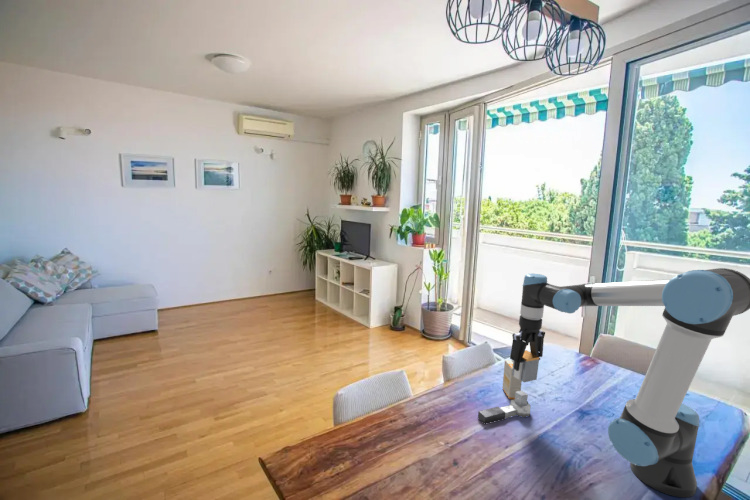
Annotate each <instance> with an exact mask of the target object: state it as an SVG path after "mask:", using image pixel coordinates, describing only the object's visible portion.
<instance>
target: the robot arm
mask: <svg viewBox="0 0 750 500" xmlns="http://www.w3.org/2000/svg"><path fill="white" fill-rule="evenodd" d="M545 306H546V307H547V308H551V309H554V310H556V311H558V312H561V313H566V314H574V313H575V312H576V311H578V310H579V309H580V308H581V307H664V309H663V312H662V313H661V314H662V317H663V319H664V321H665V322H666V324H665V325H666V326H665V327H664V329H663V333H662V334H661V336H660V338H659V342H658V344H657V347H656V350H655V352H654V353H653V356H652V359H651V361H650V364H649V365H648V369H647V371H646V373H645V376H644V378H643V381H642V382H641V386H640V387H639V389H638V393H637V395H636V397H635V399H634V398H633V399H628V400H627V401H626V403H625V406H624V408H623V410H622V413H621V415H620V416H619V417H618V418H615V419H613V420H612V421H610V423H609V425H608V427H607V434H608V439H609V441H610V442H611V443H612V446H613V448H614V449H615V451H616V452H617V453H618V454H619V455H620V456H621V457H622V458H623V459H625V461H627V462H629V463H630V469H631V471H632V473H633V474H634V475H635V476H636V478H638V479H639V480H640V481H641V482H643V483H644V484H646V485H647V486H648V487H651V488H652V489H654V490H657V491H659V492H661V493H662V494H663V493H664V494H666V495H669V496H671V497H677V498H690V497H693V496H695V494H696V492H697V486H698V484H697V483H698V482H697V478H696V473H695V469H694V465H693V459H694V453H695V447H696V441H697V437H698V432H699V427H700V415H699V413H698V412H697V411H695V410H694V408H692V407H691V406H688V405H686V404H684V403H683V401H684V400H685V397H686V396H687V394H688V391H689V389H690V386H691V384H692V382H693V380H694V378H695V376H696V373H697V372H698V369H699V367H700V366H701V363H702V360H703V358H704V356H705V355H706V352H707V350H708V348H709V346H710V343H711V342H712V340H713V339H716V338H722V337H724V335H725V333H726V331H727V329H728V327H729V325H730V322H731V320H732V318H733V317H734V316H737V315H741V314H744V313H745V312H747V311H749V310H750V277H748V276H747V275H746V274H744V273H742V272H740V271H738V270H736V269H731V268H725V267H724V268H723V267H720V268H719V267H718V268H712V269H695V270H694V269H693V270H688V271H684V272H682V273H679V274H677V275H675V276H673V277H672V278H665V279H664V278H663V279H650V280H649V279H648V280H647V279H646V280H633V281H629V280H628V281H617V282H600V283H599V282H597V283H581V284H574V285H564V286H557V285H554V284H551V283H549V282H548V276H546V275H544V274H540V273H526V274H525V275H524V278H523V282H522V295H521V303H520V312H519V314H520V316H519V320H518V325H519V330H518V332H517V333H512V342H511V350H510V356H509V360H513V361H514V369H515V370H514V377H515V378H517V379H519V380H521V373H522V364H523V363H522V362H521V360H522V357H523V355H524V352H525V350H526V348H527V347H528V346H529V351H530V352H531V353H533V354H534V355H536V356H538V357H539V361H540V360H541V358H542V357H543V353H544V341H545V340H544V339H545V337H546V332H545V331H544V330H542V325H543V317H544V309H545Z"/></svg>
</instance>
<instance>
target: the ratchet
mask: <svg viewBox="0 0 750 500" xmlns="http://www.w3.org/2000/svg"><path fill="white" fill-rule="evenodd" d="M477 414H478V415H477V419H478V418H479V419H480V420H481V421H482V422H483V423H482V422H481V421H480V420H479V419H478V420H479V421H480V422H481V423H482V424H484V423H485V424H484V425H487V424H486V423H489V424H491V423H490V422H493V423H495V422H494V421H497V422H499V421H498V420H500V421H503V420H502V419H504V420H505V418H506V419H509V418H508V417H510V418H512V417H511V416H513V417H516V416H515V415H518V416H517V417H519V416H522V417H521V418H527V417H526V416H528V417H529V416H530V415H531V404H530V403H529V401H528V393H526V392H525V391H523V390H521V391H517V392H516V393H515V399H511V400H510V403H509V405H506V406H501V407H500V406H494V407H492V408H486V409H482V410H478V412H477Z"/></svg>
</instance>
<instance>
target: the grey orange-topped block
mask: <svg viewBox="0 0 750 500" xmlns="http://www.w3.org/2000/svg"><path fill="white" fill-rule="evenodd" d="M539 358H540V357H538V356H536V355H534V354H533V353H531V351H530V350H526V349H525V352H524V355H523V357H522V360H521V362H522V363H523V364H522V373H521V381H522V382H523V383H528V382H533V381H537V378H538V371H539V365H540V363H539V362H540V360H539ZM514 370H515V369H514V361H513V369H512V375H513V376H514Z"/></svg>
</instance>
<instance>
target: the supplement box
mask: <svg viewBox="0 0 750 500" xmlns="http://www.w3.org/2000/svg"><path fill="white" fill-rule="evenodd" d="M512 369H513V360H511V359H505V360H504V368H503V379H502V388H503V389H502V390H504V391H503V392H504V393H506V394H505V395H506V397H507V396H508V397H507V398H508V399H509V400H514V399H515V393H516V392H517V391H521V389H522V382H523V381H521V380H519V379H517V378H515V377H514V376H513V375H512Z"/></svg>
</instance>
